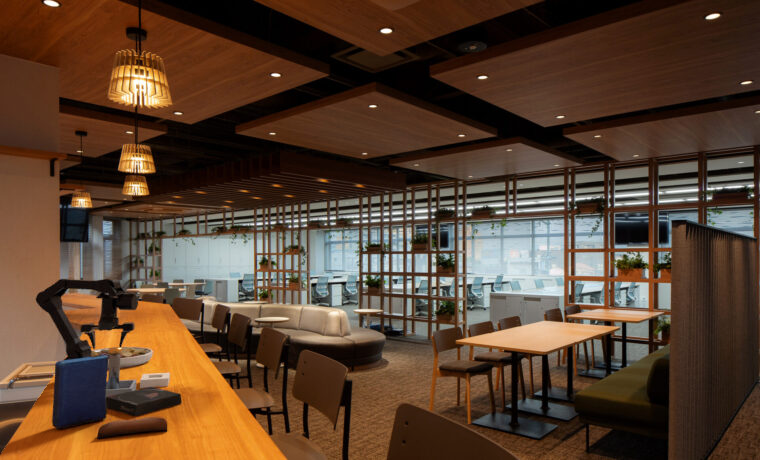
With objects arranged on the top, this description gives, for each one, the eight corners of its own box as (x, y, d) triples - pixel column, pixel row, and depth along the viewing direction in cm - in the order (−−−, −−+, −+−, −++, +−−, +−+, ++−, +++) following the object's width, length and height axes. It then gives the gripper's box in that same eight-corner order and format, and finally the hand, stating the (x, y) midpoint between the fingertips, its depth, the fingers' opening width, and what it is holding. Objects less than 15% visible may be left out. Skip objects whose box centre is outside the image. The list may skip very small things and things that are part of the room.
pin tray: (87, 401, 171) (88, 391, 171) (95, 391, 184) (96, 381, 184) (131, 398, 176) (131, 388, 176) (135, 388, 189) (136, 379, 189)
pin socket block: (139, 387, 190) (140, 379, 190) (142, 381, 200) (143, 374, 200) (168, 386, 194) (168, 378, 194) (169, 380, 203) (169, 372, 203)
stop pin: (103, 393, 178) (105, 348, 179) (112, 390, 183) (114, 346, 184) (113, 394, 177) (116, 349, 178) (122, 391, 182) (124, 347, 183)
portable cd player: (181, 405, 171) (182, 393, 171) (135, 418, 156) (135, 405, 157) (151, 397, 179) (152, 386, 180) (105, 409, 165) (106, 396, 165)
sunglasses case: (166, 422, 151) (167, 406, 149) (166, 441, 146) (168, 425, 143) (99, 429, 144) (99, 413, 141) (96, 450, 138) (96, 433, 135)
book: (102, 416, 156) (105, 352, 157) (109, 420, 152) (112, 354, 154) (49, 428, 145) (53, 358, 146) (56, 432, 141) (60, 361, 142)
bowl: (84, 359, 240) (85, 342, 241) (152, 355, 253) (153, 339, 253) (75, 372, 213) (76, 354, 214) (152, 367, 225) (153, 350, 226)
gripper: (78, 312, 189) (75, 353, 189) (132, 311, 196) (130, 351, 195) (84, 309, 200) (82, 348, 199) (135, 308, 206) (133, 346, 205)
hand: (107, 348), depth 199 cm, fingers open, 9 cm apart
